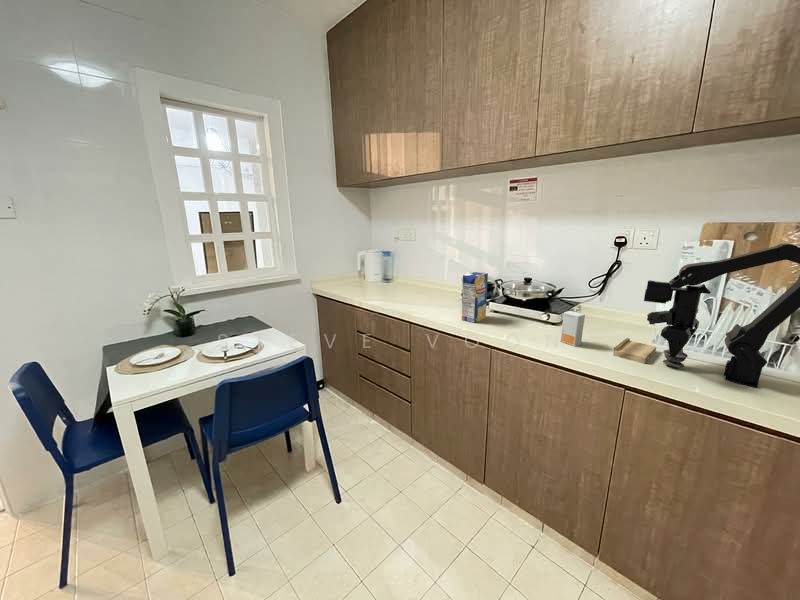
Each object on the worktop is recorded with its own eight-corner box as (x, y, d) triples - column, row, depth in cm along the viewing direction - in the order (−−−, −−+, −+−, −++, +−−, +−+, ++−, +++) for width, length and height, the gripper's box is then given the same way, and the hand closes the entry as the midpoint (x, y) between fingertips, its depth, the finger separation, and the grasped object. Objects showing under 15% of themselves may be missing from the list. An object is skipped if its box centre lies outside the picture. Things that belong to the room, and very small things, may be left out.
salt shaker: (685, 362, 101) (692, 327, 98) (686, 369, 97) (694, 332, 94) (661, 358, 105) (668, 323, 102) (661, 364, 100) (668, 328, 97)
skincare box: (559, 341, 123) (563, 312, 120) (566, 339, 125) (570, 310, 122) (574, 346, 118) (578, 316, 115) (581, 344, 120) (585, 314, 117)
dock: (655, 351, 112) (656, 344, 111) (644, 363, 103) (645, 355, 103) (625, 344, 119) (626, 337, 118) (612, 355, 110) (614, 347, 109)
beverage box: (461, 320, 151) (462, 275, 146) (473, 315, 159) (475, 272, 154) (474, 323, 147) (476, 276, 141) (485, 317, 154) (488, 273, 149)
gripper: (659, 296, 108) (651, 339, 112) (644, 306, 96) (636, 353, 100) (704, 302, 100) (693, 348, 103) (693, 314, 88) (682, 365, 92)
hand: (675, 353), depth 100 cm, fingers closed on salt shaker, 8 cm apart
